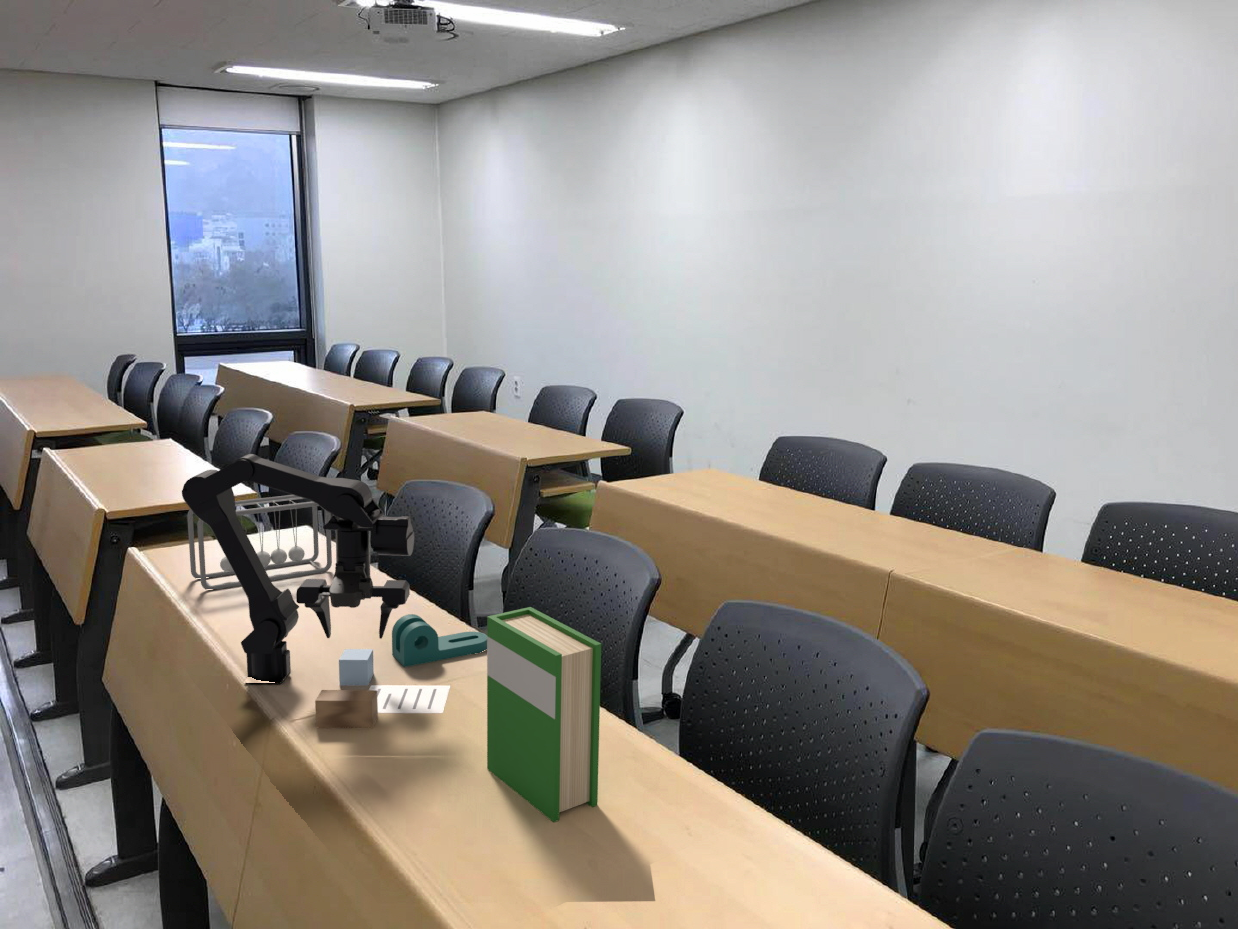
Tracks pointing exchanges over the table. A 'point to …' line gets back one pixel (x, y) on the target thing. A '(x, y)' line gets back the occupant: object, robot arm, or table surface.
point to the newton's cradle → (276, 556)
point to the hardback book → (543, 710)
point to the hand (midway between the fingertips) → (354, 637)
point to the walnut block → (346, 709)
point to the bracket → (431, 642)
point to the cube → (356, 667)
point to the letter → (411, 698)
